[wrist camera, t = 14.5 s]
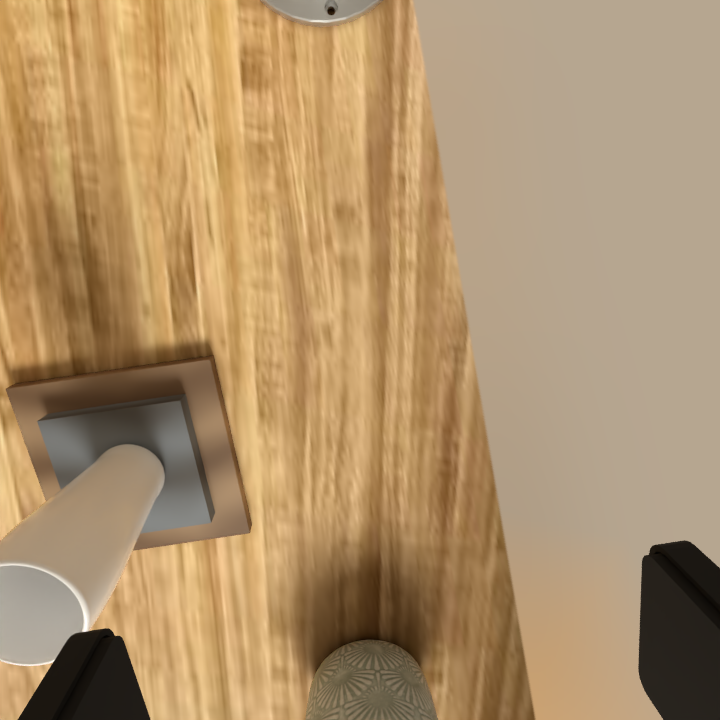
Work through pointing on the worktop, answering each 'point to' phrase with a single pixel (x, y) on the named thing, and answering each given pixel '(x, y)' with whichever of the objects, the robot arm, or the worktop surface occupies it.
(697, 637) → the robot arm
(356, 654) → the planter
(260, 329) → the worktop surface
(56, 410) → the base
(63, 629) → the drinking glass
